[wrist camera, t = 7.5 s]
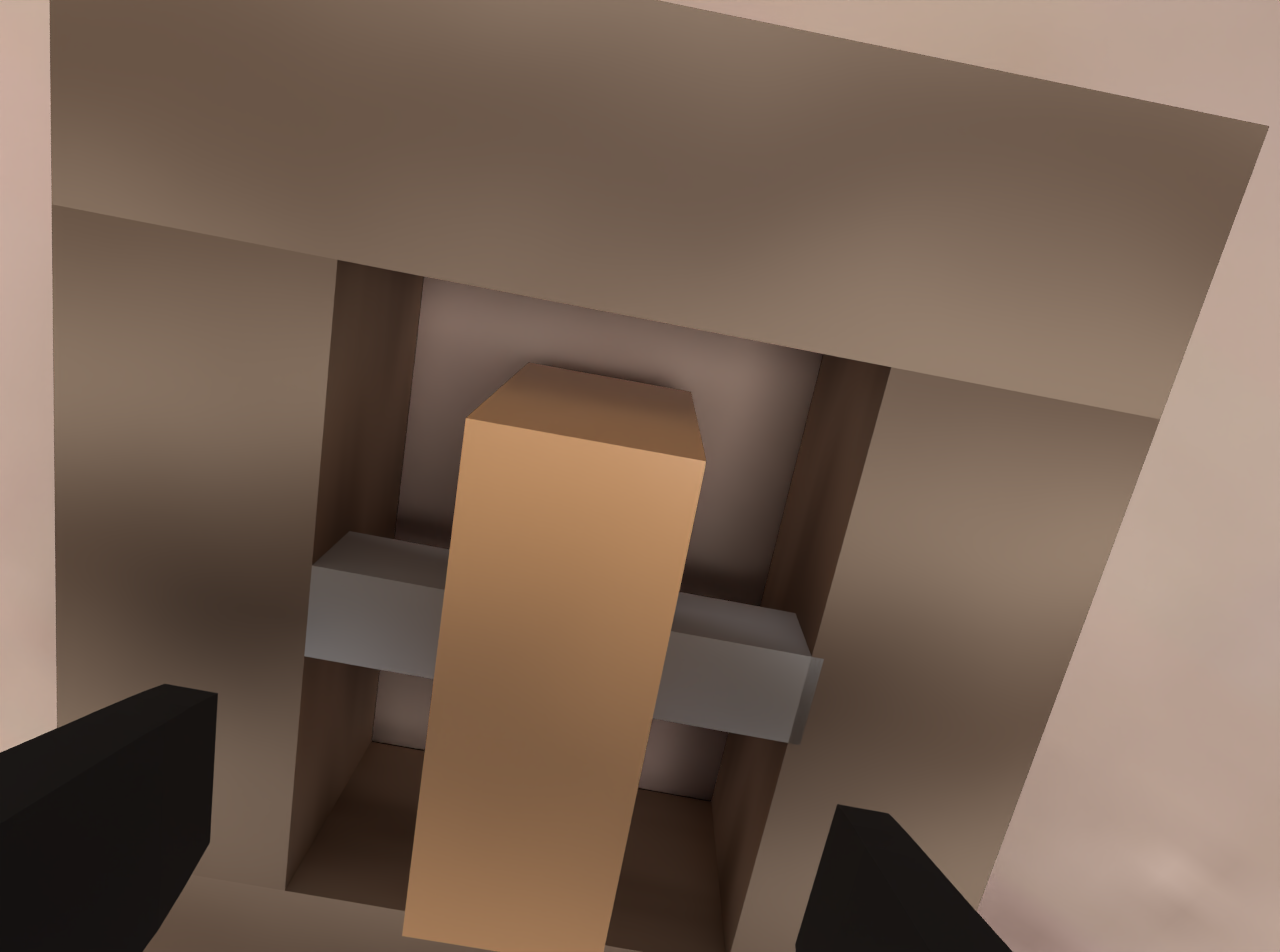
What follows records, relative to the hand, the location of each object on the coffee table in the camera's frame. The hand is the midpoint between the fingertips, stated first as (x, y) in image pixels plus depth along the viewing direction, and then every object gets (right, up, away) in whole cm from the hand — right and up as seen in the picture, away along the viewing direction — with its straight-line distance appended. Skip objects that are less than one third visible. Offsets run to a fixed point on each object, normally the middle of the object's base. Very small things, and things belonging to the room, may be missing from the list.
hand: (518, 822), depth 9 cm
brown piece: (0, +2, +8) cm, 8 cm away
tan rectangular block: (0, +2, +7) cm, 7 cm away
